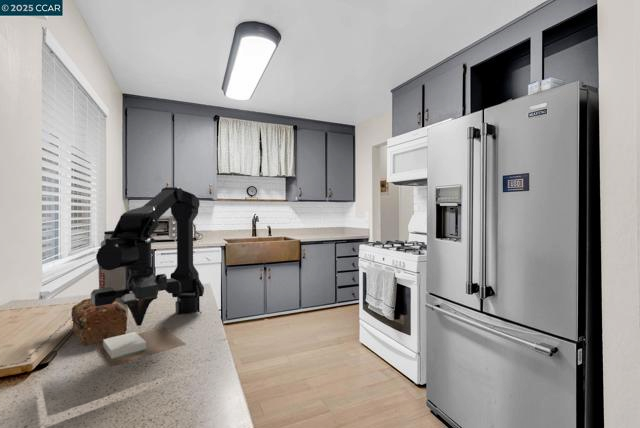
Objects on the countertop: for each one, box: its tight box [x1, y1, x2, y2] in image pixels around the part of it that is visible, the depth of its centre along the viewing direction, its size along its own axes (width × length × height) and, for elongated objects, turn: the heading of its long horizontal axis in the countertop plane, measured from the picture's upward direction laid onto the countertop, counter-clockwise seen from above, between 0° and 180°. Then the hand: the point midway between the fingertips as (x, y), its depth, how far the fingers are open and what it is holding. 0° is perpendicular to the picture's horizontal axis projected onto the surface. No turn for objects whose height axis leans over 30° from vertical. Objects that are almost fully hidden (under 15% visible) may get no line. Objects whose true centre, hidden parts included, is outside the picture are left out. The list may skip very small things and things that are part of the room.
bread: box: [70, 297, 128, 346], centre depth 88 cm, size 19×11×10 cm, turn 43°
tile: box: [102, 331, 146, 359], centre depth 76 cm, size 2×9×7 cm
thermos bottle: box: [97, 230, 129, 316], centre depth 104 cm, size 8×8×28 cm
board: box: [96, 326, 187, 367], centre depth 79 cm, size 16×16×1 cm
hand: (138, 325), depth 78 cm, fingers closed
